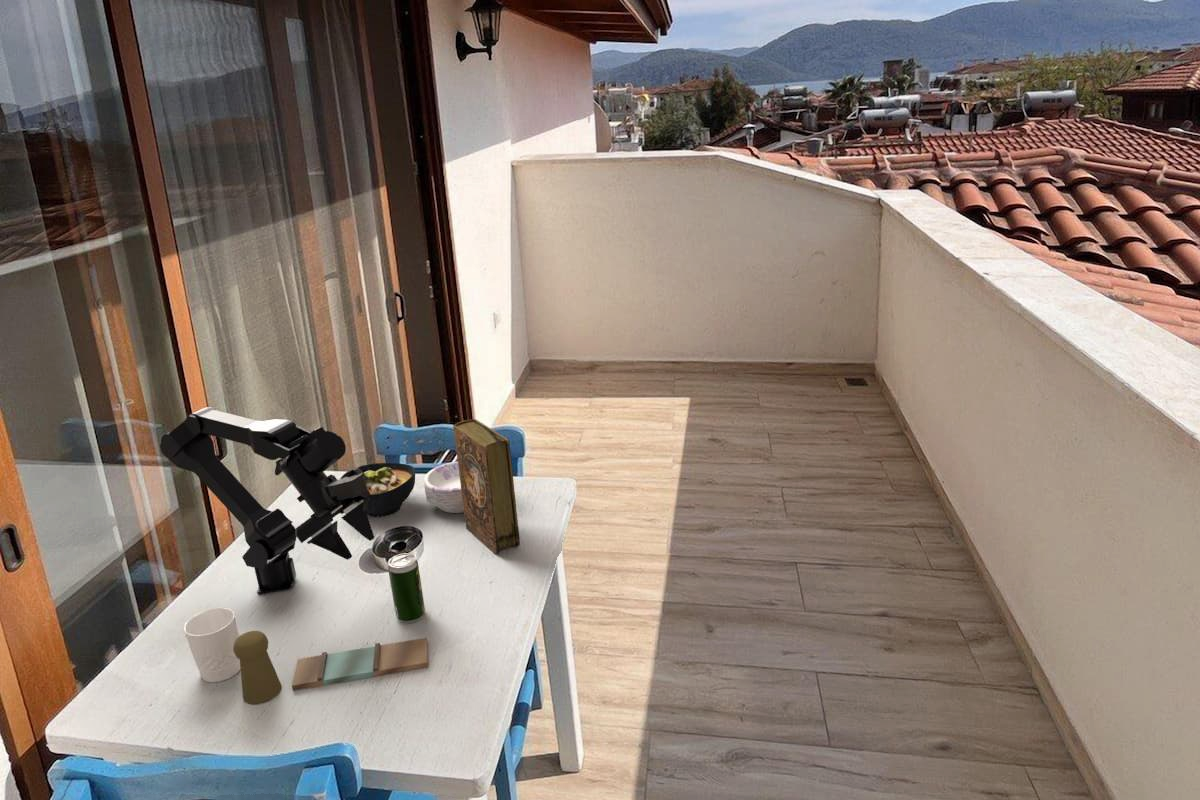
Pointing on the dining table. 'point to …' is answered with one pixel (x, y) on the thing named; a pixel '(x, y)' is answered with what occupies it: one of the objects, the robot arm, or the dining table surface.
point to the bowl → (387, 487)
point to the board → (360, 663)
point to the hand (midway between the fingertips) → (361, 548)
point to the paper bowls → (444, 488)
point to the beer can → (406, 588)
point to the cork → (256, 668)
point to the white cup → (214, 643)
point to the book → (487, 485)
